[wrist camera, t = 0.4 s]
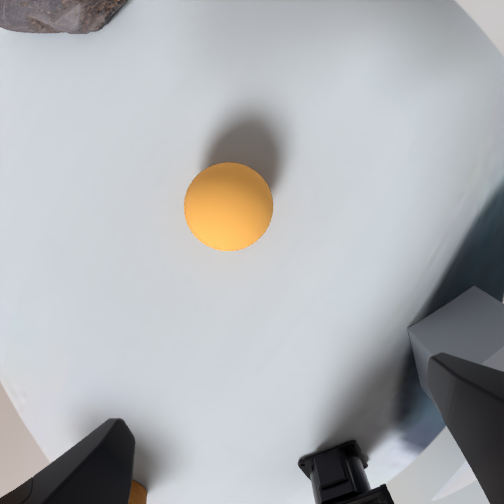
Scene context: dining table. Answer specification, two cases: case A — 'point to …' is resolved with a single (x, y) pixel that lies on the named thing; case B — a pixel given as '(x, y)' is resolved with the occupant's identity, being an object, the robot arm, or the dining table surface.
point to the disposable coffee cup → (137, 494)
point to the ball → (228, 206)
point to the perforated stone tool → (57, 15)
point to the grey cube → (461, 333)
